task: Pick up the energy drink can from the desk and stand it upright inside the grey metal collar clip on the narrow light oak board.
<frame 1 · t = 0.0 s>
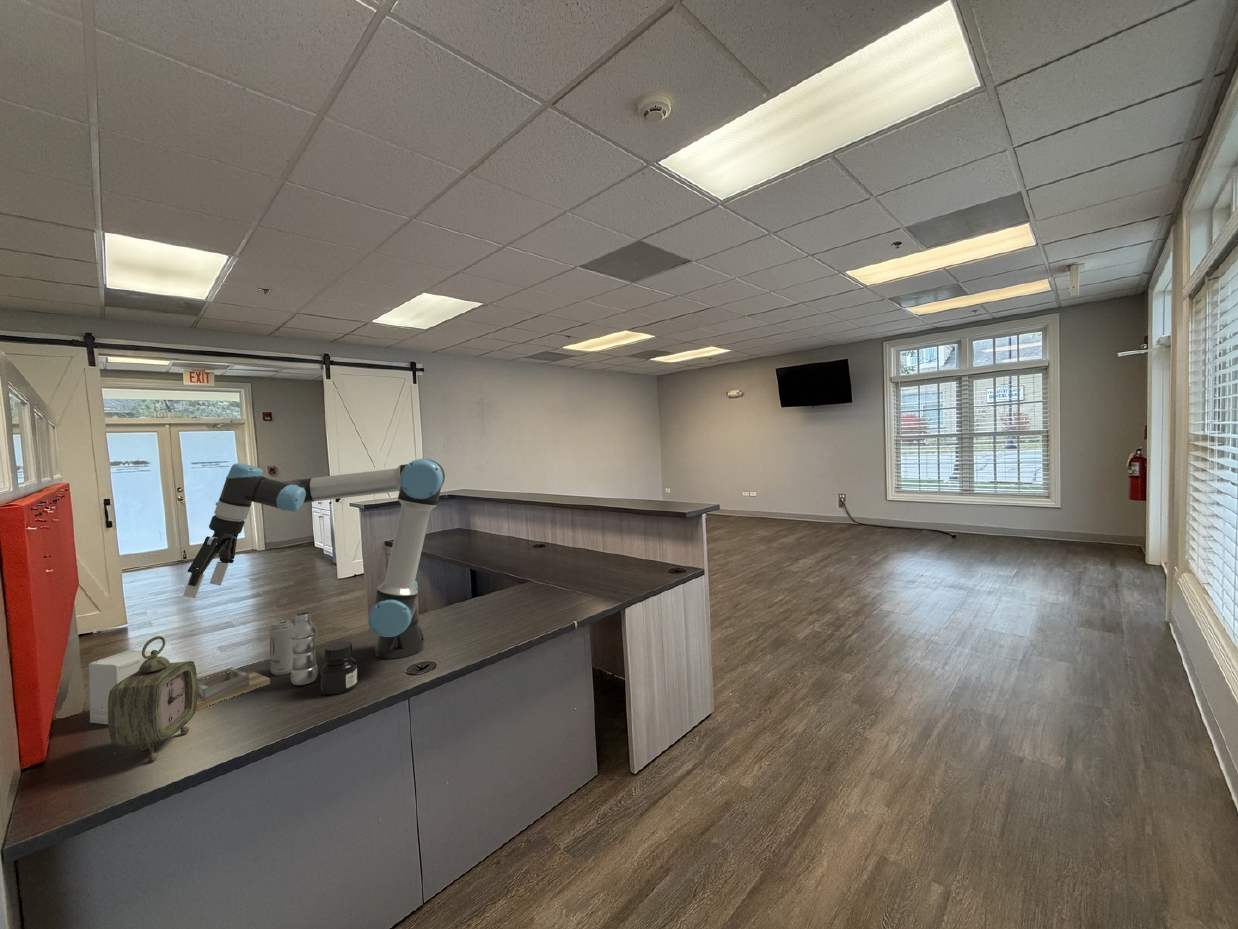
hand: (203, 590, 140), 28 cm above the table, tool tilted 20°, fingers open, 13 cm apart
supplement box: (124, 716, 126), on the table
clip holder: (219, 694, 137), on the table
energy drink can: (282, 672, 151), on the table
plastic bottle: (304, 683, 143), on the table
ink bottle: (339, 689, 139), on the table
tabletop clock: (155, 749, 111), on the table
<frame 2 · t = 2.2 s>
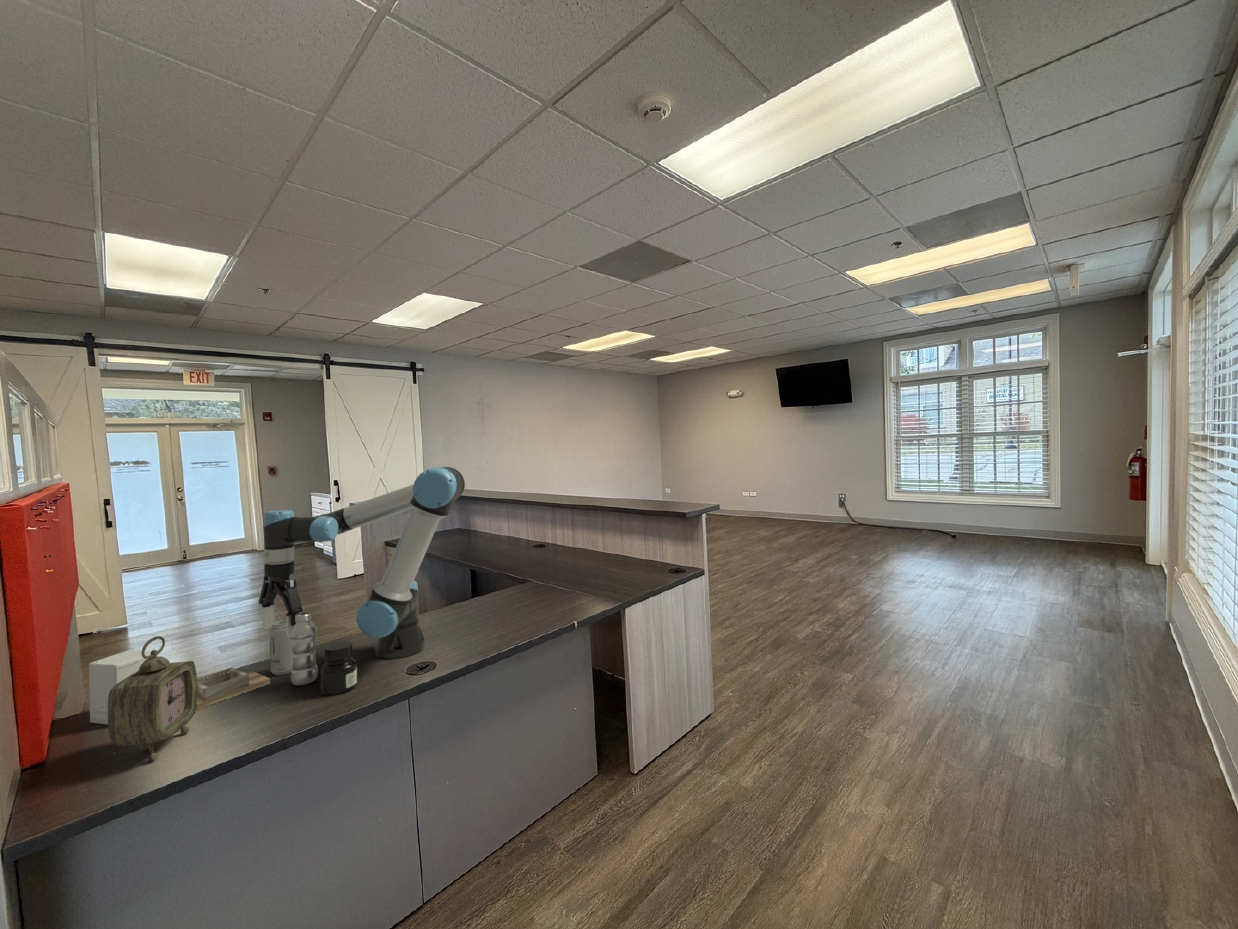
hand: (280, 631, 150), 12 cm above the table, tool pointing down, fingers open, 13 cm apart
nothing on the table moved.
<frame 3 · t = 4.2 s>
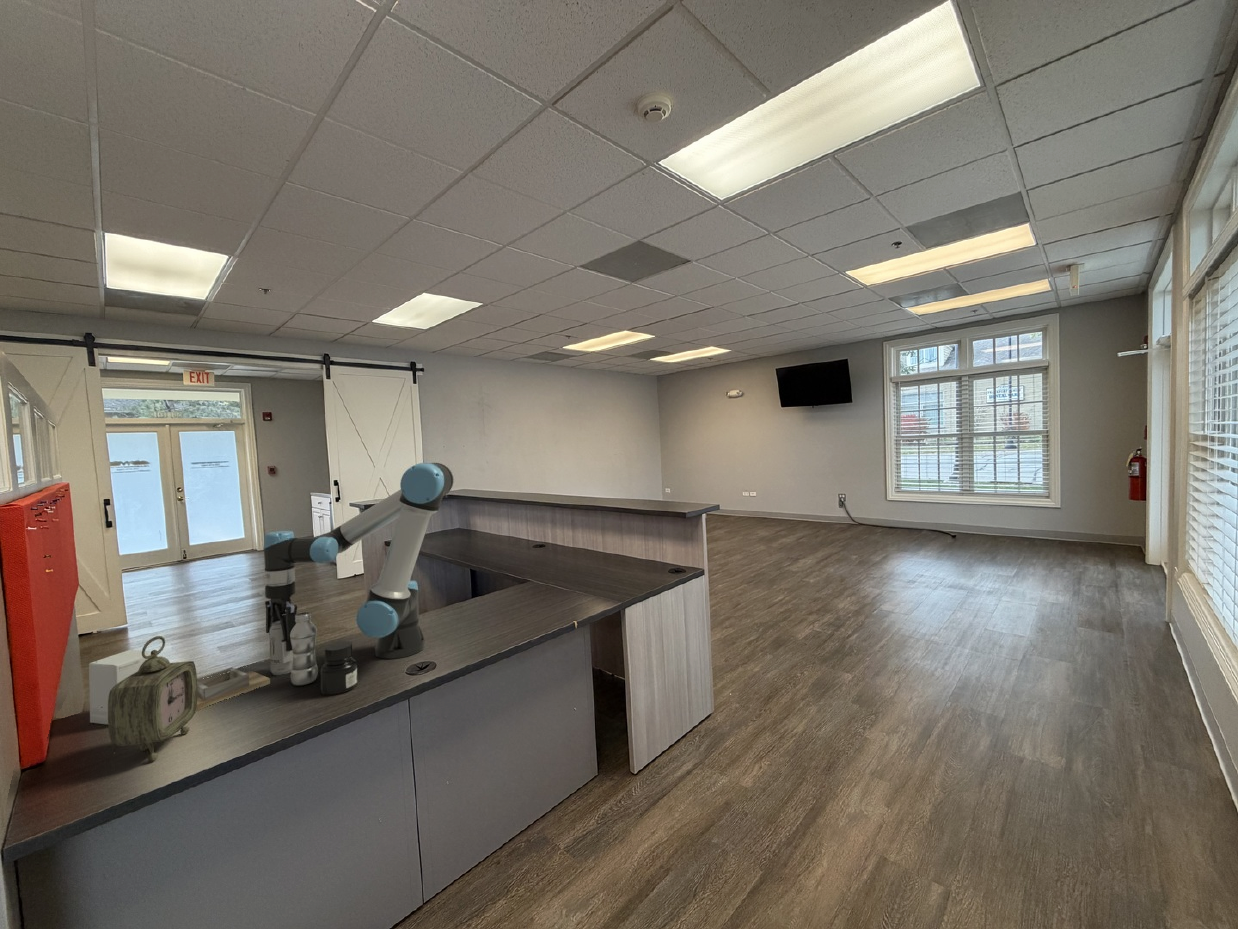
hand: (282, 659, 150), 4 cm above the table, tool pointing down, fingers closed on energy drink can, 6 cm apart
energy drink can: (282, 672, 151), on the table, touching gripper
everything else where it was.
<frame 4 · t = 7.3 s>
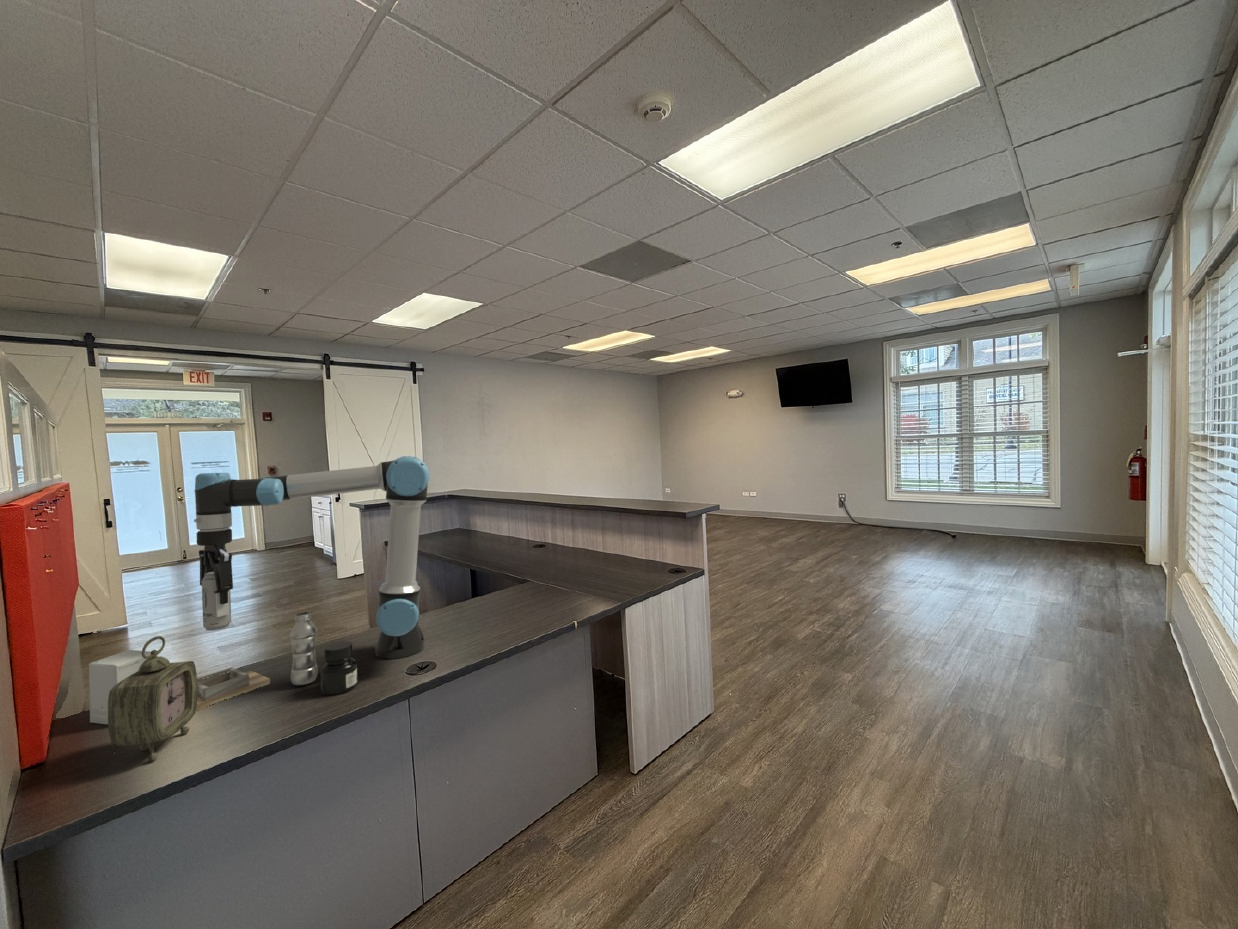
hand: (217, 613, 136), 22 cm above the table, tool pointing down, fingers closed on energy drink can, 6 cm apart
energy drink can: (217, 628, 136), point 18 cm above the table, touching gripper
everything else where it was.
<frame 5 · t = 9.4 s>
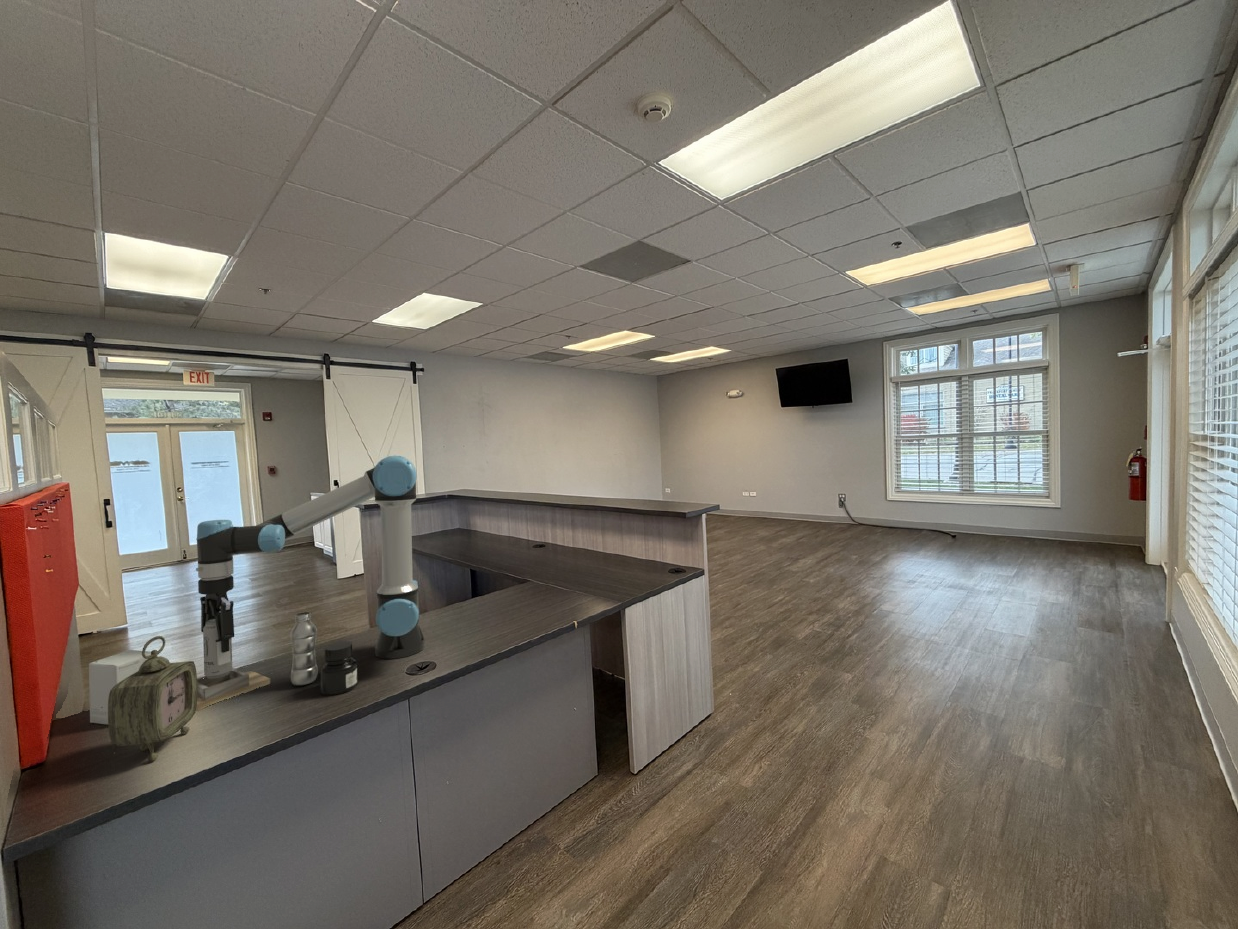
hand: (218, 660, 136), 9 cm above the table, tool pointing down, fingers closed on energy drink can, 6 cm apart
energy drink can: (218, 675, 137), point 5 cm above the table, touching gripper
everything else where it was.
when the fingers open (7 cm above the table, at t = 10.8 s): energy drink can drops 1 cm, resting on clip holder.
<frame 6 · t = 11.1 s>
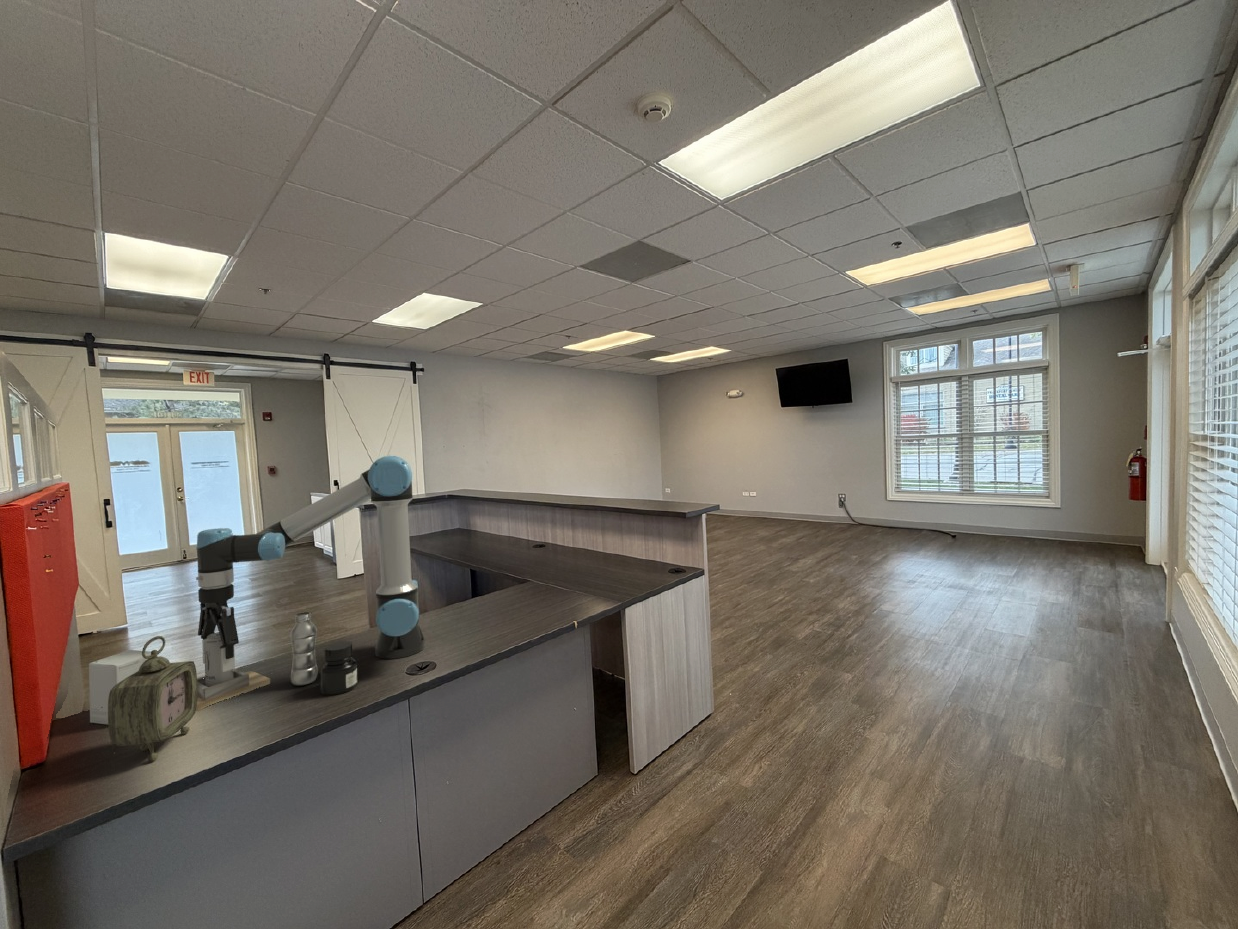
hand: (218, 665, 137), 8 cm above the table, tool pointing down, fingers open, 10 cm apart
energy drink can: (219, 689, 137), point 1 cm above the table, touching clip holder
everything else where it was.
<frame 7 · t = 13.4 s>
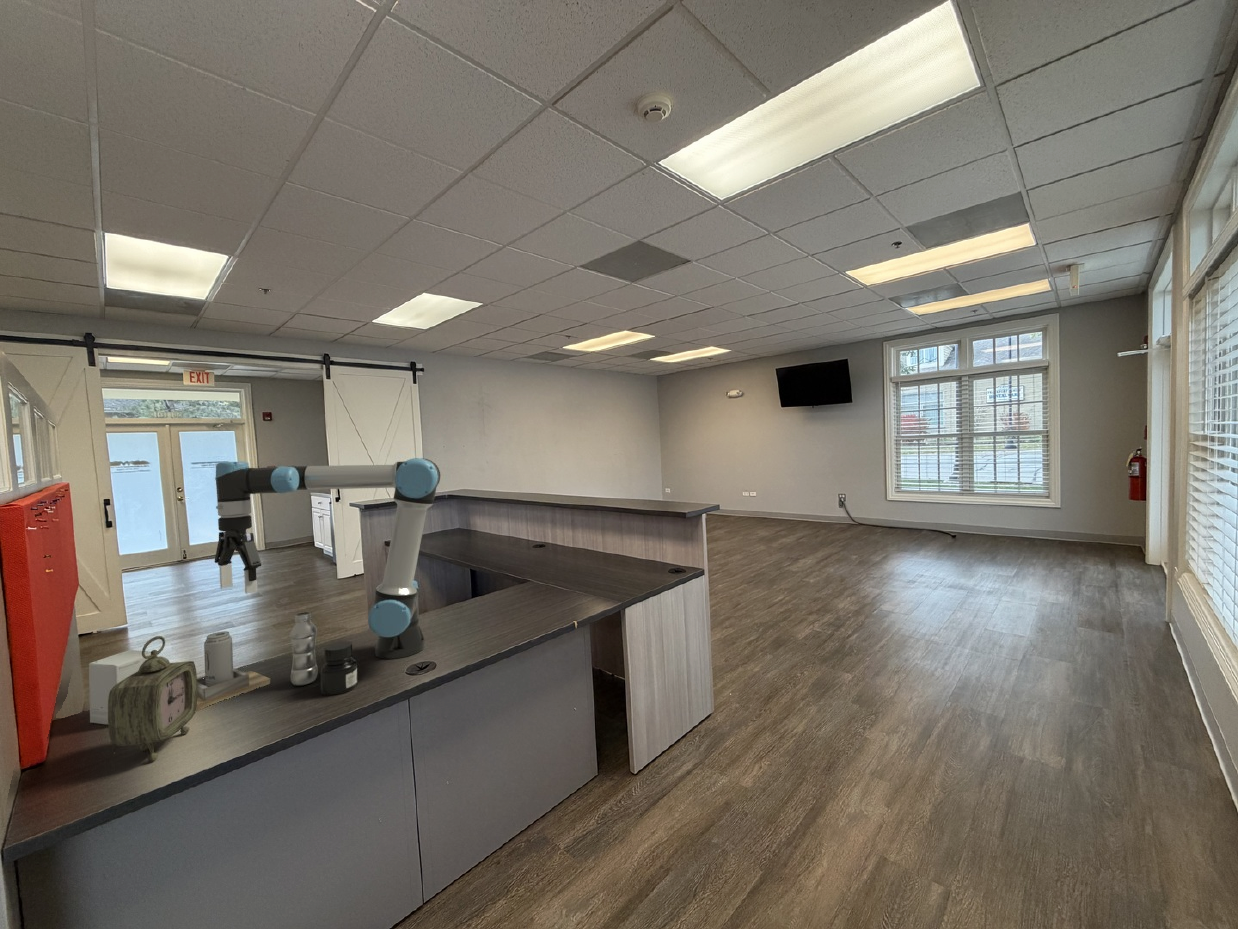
hand: (238, 590, 142), 27 cm above the table, tool pointing down, fingers open, 13 cm apart
nothing on the table moved.
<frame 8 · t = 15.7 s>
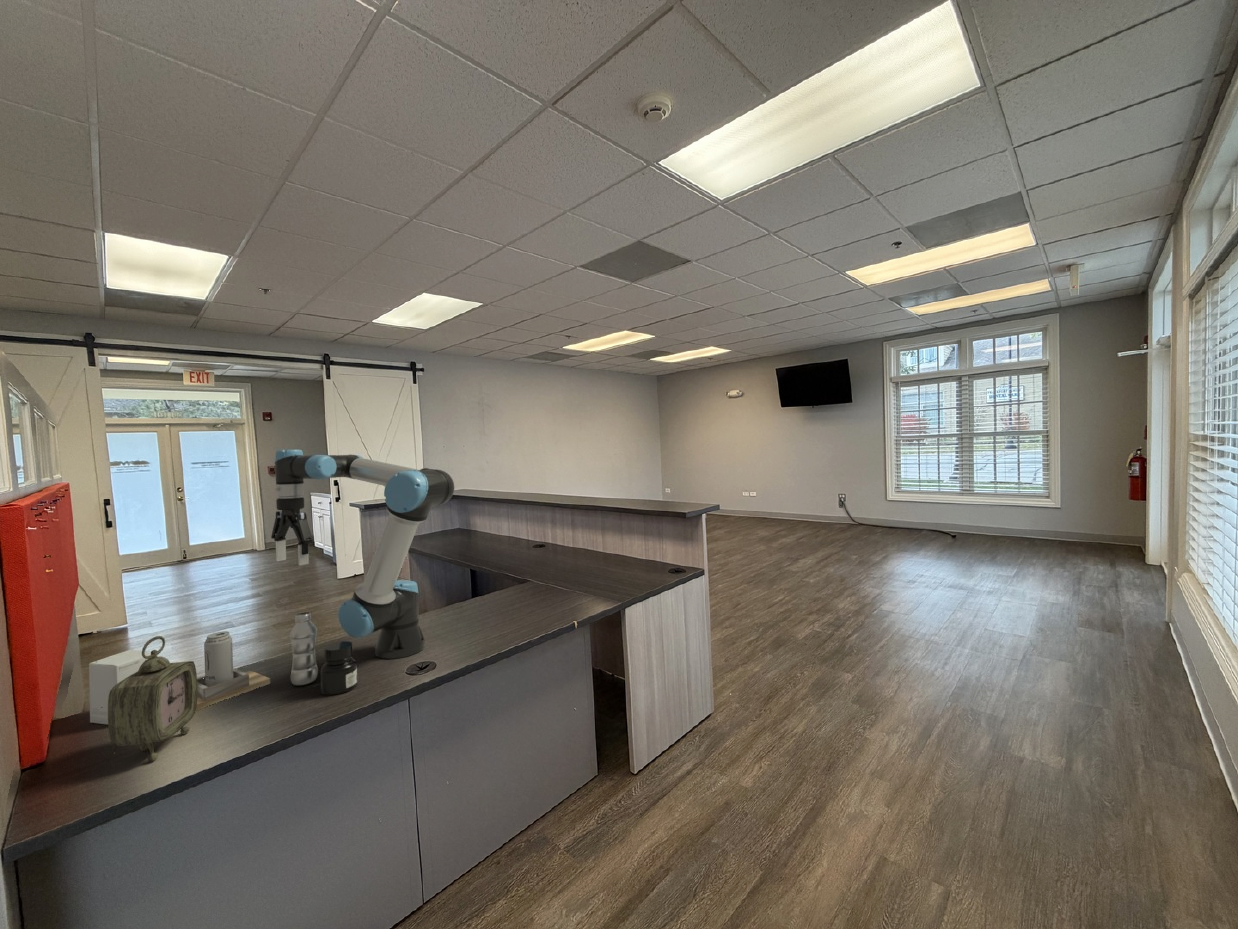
hand: (292, 562, 161), 31 cm above the table, tool pointing down, fingers open, 13 cm apart
nothing on the table moved.
at the end: energy drink can 0.1 cm off-centre on the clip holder, point 1.3 cm above the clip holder's base; energy drink can tilted 0°; the gripper is holding nothing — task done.
